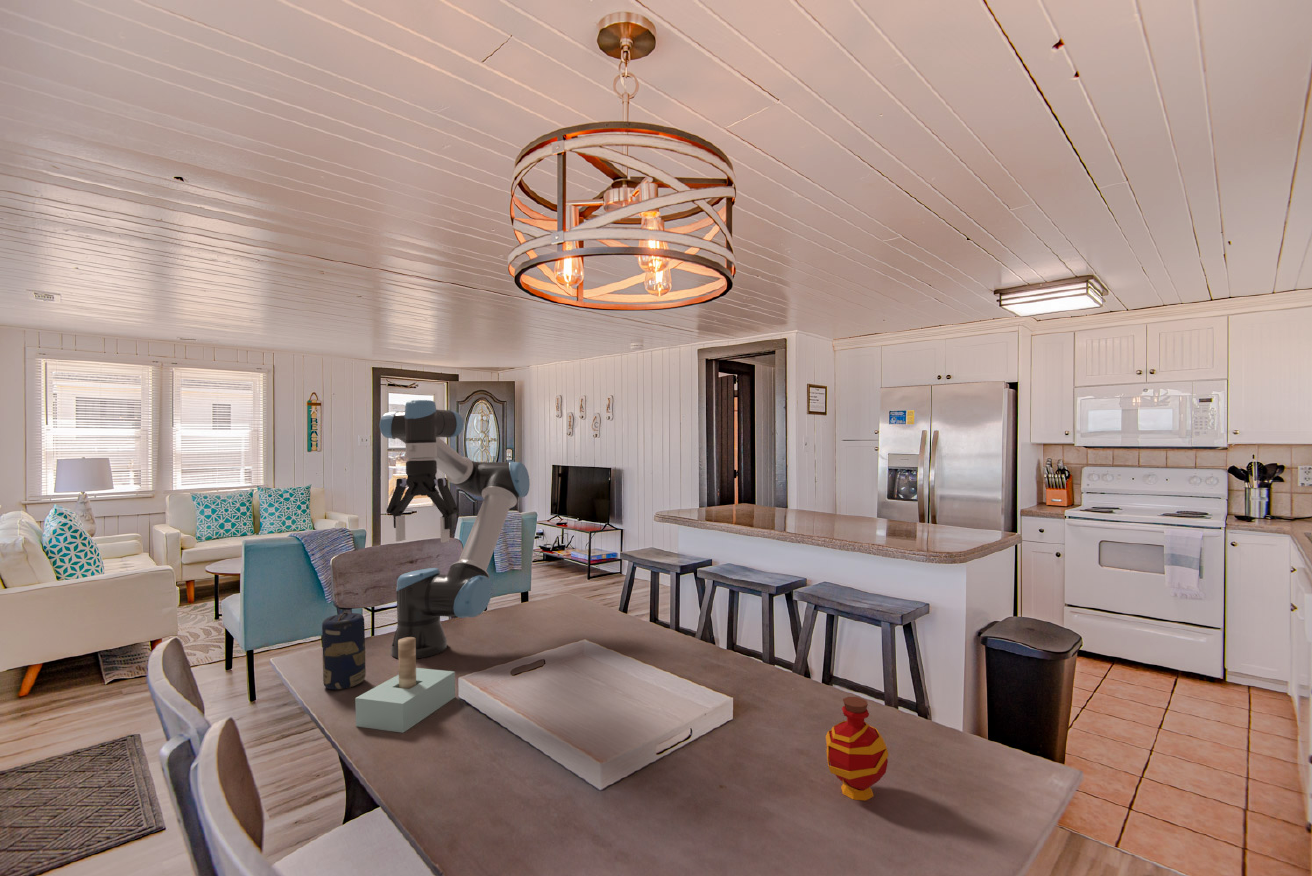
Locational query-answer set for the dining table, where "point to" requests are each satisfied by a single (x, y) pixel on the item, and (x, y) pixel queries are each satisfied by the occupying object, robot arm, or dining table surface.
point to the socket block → (404, 701)
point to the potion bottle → (856, 751)
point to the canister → (343, 650)
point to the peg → (407, 662)
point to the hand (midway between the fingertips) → (422, 541)
